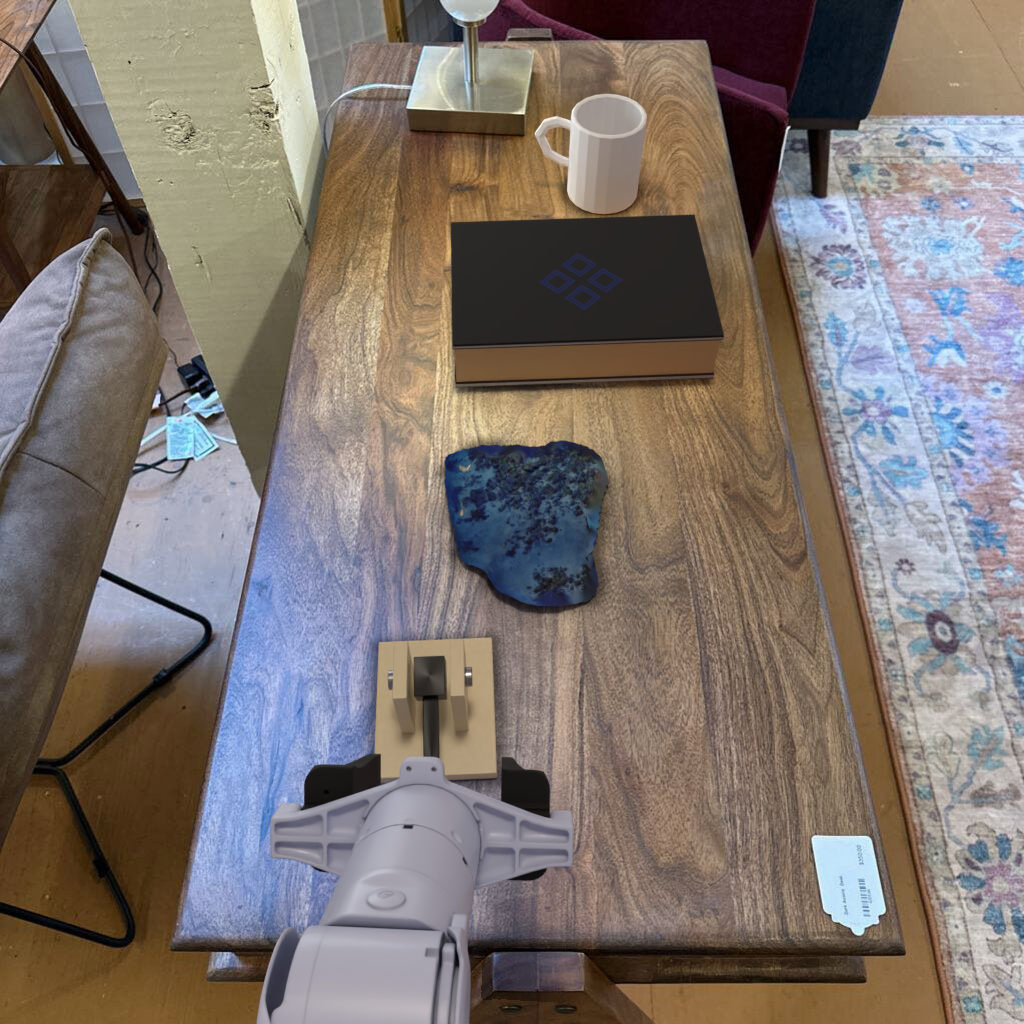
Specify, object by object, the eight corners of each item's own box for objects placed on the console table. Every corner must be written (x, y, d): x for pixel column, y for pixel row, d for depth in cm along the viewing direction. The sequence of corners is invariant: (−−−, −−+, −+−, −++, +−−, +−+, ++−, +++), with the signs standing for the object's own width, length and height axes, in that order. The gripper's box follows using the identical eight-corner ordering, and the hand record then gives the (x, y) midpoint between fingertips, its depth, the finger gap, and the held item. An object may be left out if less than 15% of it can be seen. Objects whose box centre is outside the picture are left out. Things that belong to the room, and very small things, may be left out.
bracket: (497, 778, 68) (495, 740, 62) (375, 783, 68) (360, 746, 62) (492, 643, 74) (490, 596, 68) (380, 648, 74) (367, 601, 68)
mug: (538, 165, 110) (540, 87, 102) (639, 174, 109) (649, 96, 101) (529, 208, 105) (530, 130, 97) (634, 217, 104) (644, 139, 96)
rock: (607, 451, 85) (609, 438, 84) (604, 616, 76) (605, 605, 74) (449, 444, 86) (448, 431, 85) (427, 607, 77) (424, 596, 75)
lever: (456, 847, 64) (454, 847, 61) (412, 849, 64) (408, 850, 61) (452, 661, 68) (449, 654, 65) (411, 663, 68) (407, 656, 65)
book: (454, 272, 99) (450, 221, 94) (684, 264, 100) (694, 213, 94) (455, 393, 90) (452, 344, 84) (711, 384, 90) (724, 335, 85)
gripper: (578, 802, 39) (568, 707, 53) (239, 793, 39) (316, 701, 53) (575, 961, 40) (566, 827, 53) (241, 950, 40) (316, 820, 54)
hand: (441, 772), depth 53 cm, fingers open, 7 cm apart
